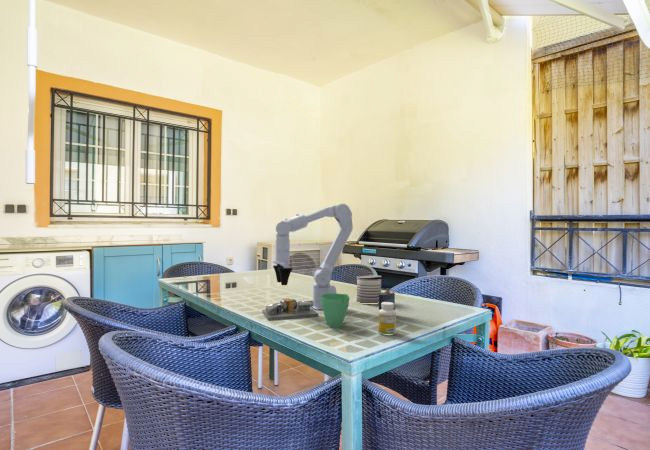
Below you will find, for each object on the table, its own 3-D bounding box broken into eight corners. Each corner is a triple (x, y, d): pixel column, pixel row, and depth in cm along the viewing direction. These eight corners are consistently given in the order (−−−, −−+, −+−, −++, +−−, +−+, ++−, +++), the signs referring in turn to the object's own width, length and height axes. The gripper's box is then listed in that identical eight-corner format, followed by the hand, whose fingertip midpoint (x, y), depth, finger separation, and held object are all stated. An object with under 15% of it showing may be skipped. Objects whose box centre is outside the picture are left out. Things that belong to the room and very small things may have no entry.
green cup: (341, 331, 116) (342, 300, 116) (315, 326, 121) (315, 297, 121) (358, 320, 129) (358, 293, 129) (333, 317, 134) (334, 290, 134)
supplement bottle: (383, 330, 118) (383, 300, 118) (398, 333, 115) (398, 302, 115) (375, 333, 114) (376, 303, 114) (391, 337, 111) (391, 305, 111)
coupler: (291, 308, 142) (291, 297, 142) (297, 311, 138) (297, 299, 138) (278, 310, 138) (279, 299, 138) (284, 313, 135) (285, 301, 135)
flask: (390, 313, 141) (390, 286, 141) (396, 315, 139) (397, 287, 139) (377, 318, 134) (377, 289, 134) (383, 319, 132) (384, 290, 132)
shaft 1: (275, 310, 138) (275, 302, 138) (282, 312, 136) (282, 303, 136) (264, 313, 133) (264, 304, 133) (271, 315, 131) (271, 306, 131)
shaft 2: (310, 308, 143) (311, 299, 143) (313, 310, 140) (313, 301, 140) (296, 309, 141) (296, 300, 141) (299, 311, 138) (299, 302, 138)
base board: (308, 309, 146) (308, 306, 146) (318, 316, 135) (318, 313, 135) (262, 312, 139) (262, 309, 139) (268, 320, 128) (268, 317, 128)
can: (366, 305, 154) (366, 278, 154) (350, 300, 163) (351, 274, 163) (386, 303, 159) (387, 276, 159) (370, 298, 169) (371, 273, 169)
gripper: (269, 249, 153) (268, 281, 153) (276, 252, 139) (276, 287, 139) (285, 249, 155) (285, 280, 155) (294, 251, 142) (293, 286, 142)
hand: (282, 283), depth 148 cm, fingers open, 7 cm apart
